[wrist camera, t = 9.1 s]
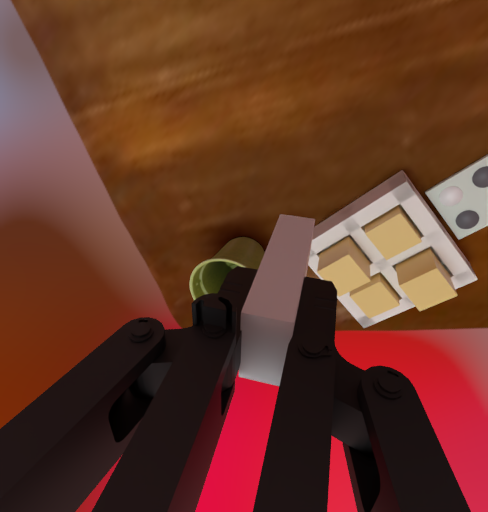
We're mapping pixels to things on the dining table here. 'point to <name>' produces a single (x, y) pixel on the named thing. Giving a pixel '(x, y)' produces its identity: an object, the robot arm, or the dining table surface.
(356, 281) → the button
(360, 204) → the board
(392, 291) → the tan cube block
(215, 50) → the dining table surface
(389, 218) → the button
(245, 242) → the plant pot
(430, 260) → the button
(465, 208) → the pattern card
